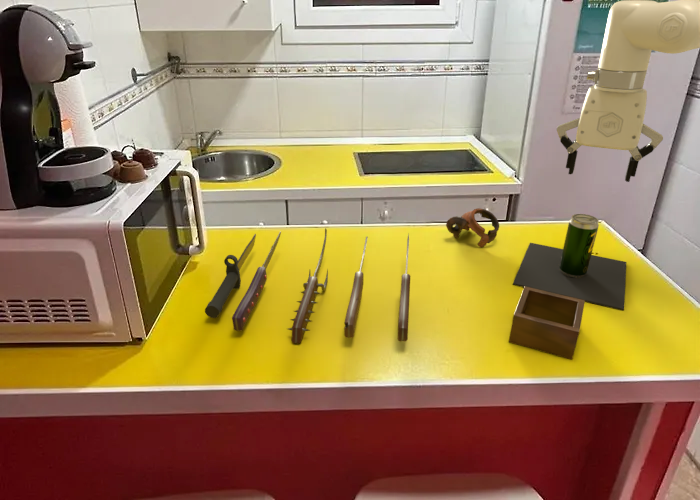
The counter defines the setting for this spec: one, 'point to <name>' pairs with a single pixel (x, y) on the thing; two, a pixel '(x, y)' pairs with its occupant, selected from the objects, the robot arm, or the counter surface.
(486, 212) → the brown curved piece
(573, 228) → the beer can
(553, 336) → the box
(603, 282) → the mat
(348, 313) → the knife set
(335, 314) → the counter surface
